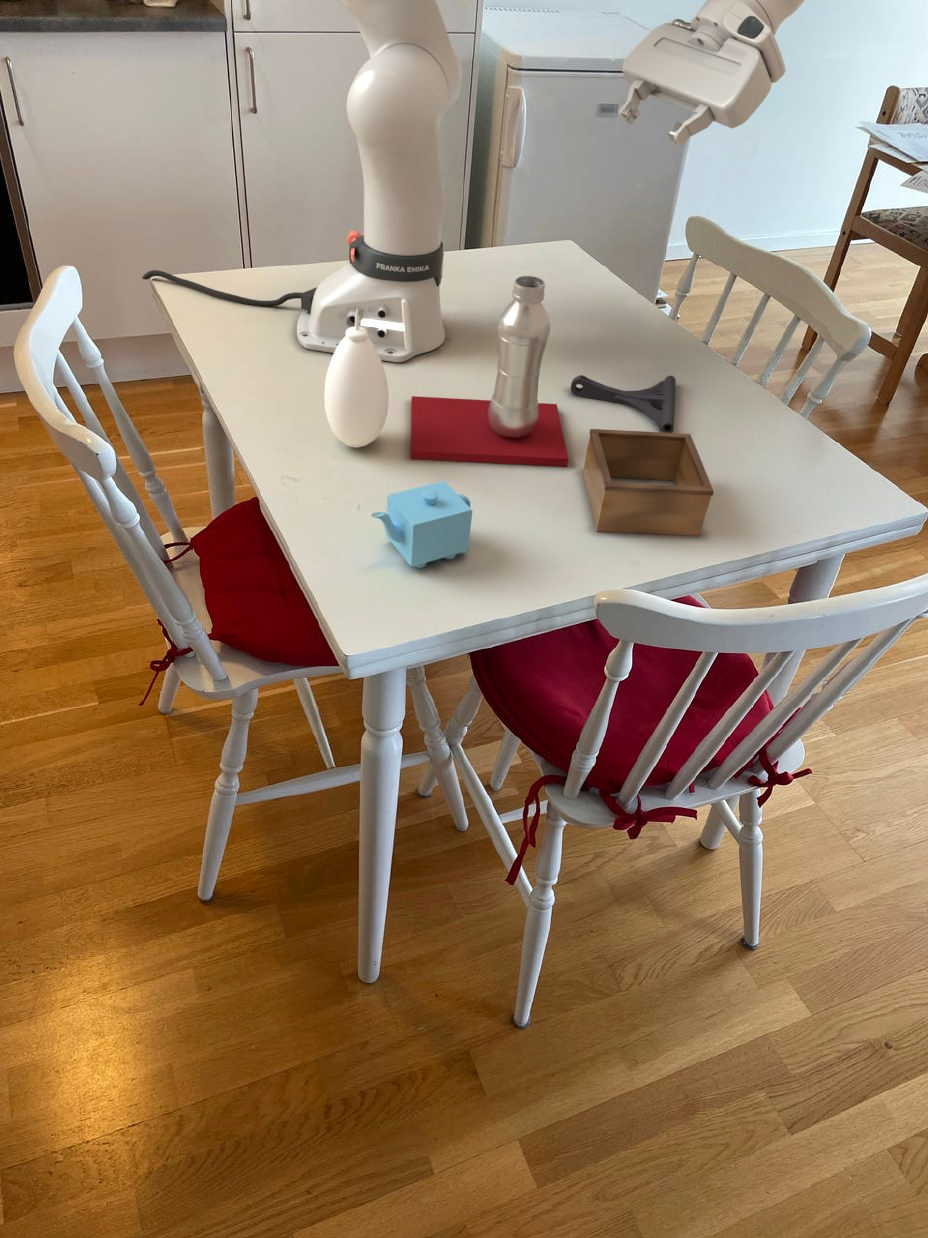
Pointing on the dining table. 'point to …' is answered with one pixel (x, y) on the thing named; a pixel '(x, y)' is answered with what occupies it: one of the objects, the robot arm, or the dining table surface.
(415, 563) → the teapot
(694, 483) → the wooden box
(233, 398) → the dining table surface
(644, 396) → the squeegee
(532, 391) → the metal bottle
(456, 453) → the cushion mat
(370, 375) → the white air blower bulb
